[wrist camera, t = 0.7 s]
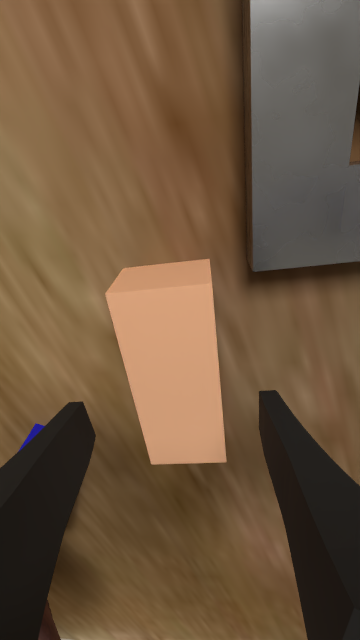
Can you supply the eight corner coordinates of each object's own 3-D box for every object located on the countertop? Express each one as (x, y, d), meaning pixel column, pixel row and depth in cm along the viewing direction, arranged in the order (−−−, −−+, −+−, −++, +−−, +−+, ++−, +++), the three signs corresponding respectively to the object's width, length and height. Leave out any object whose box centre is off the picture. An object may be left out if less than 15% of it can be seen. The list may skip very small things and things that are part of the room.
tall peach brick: (207, 244, 15) (212, 283, 10) (219, 389, 20) (226, 462, 15) (134, 253, 16) (105, 293, 11) (162, 392, 20) (151, 464, 16)
